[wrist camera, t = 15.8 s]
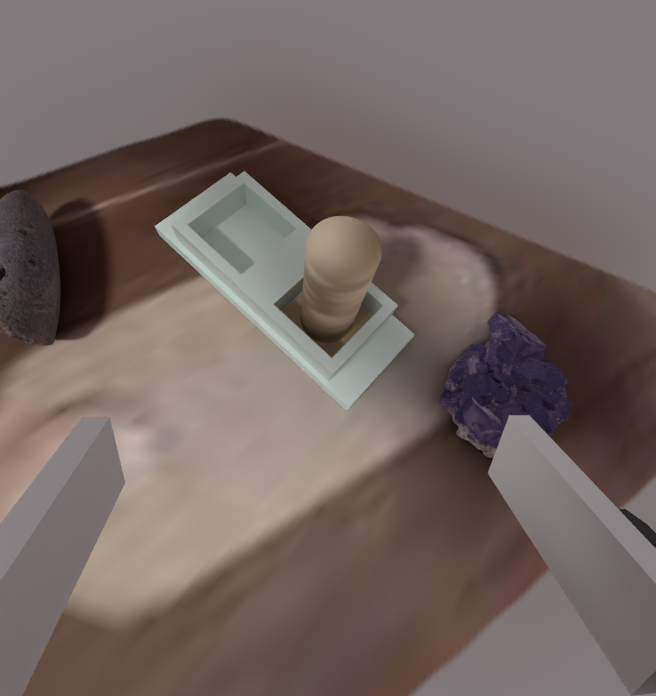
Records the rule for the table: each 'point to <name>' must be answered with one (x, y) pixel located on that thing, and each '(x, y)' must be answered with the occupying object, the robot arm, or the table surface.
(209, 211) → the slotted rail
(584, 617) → the robot arm
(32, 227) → the perforated stone tool
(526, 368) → the mineral specimen
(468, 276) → the table surface
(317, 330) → the birch peg
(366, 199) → the table surface
